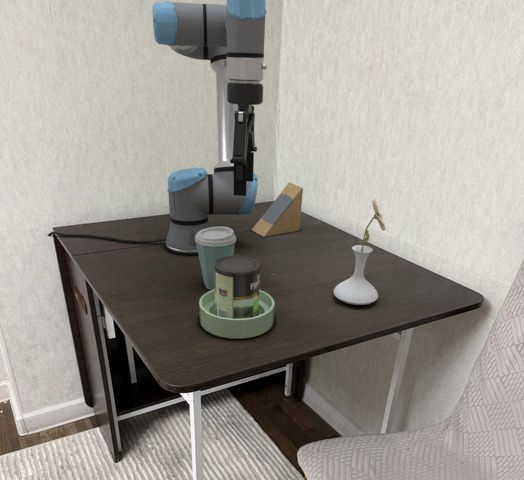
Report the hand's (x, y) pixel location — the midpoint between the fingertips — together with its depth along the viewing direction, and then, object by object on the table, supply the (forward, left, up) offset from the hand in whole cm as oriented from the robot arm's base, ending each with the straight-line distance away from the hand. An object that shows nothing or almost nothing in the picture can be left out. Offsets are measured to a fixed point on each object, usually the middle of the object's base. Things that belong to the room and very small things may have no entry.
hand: (243, 187), depth 110 cm
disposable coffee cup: (-9, +1, -27) cm, 29 cm away
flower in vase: (+26, +14, -27) cm, 40 cm away
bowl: (+6, -13, -27) cm, 31 cm away
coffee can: (+6, -13, -27) cm, 31 cm away
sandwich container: (-17, +51, -27) cm, 61 cm away
